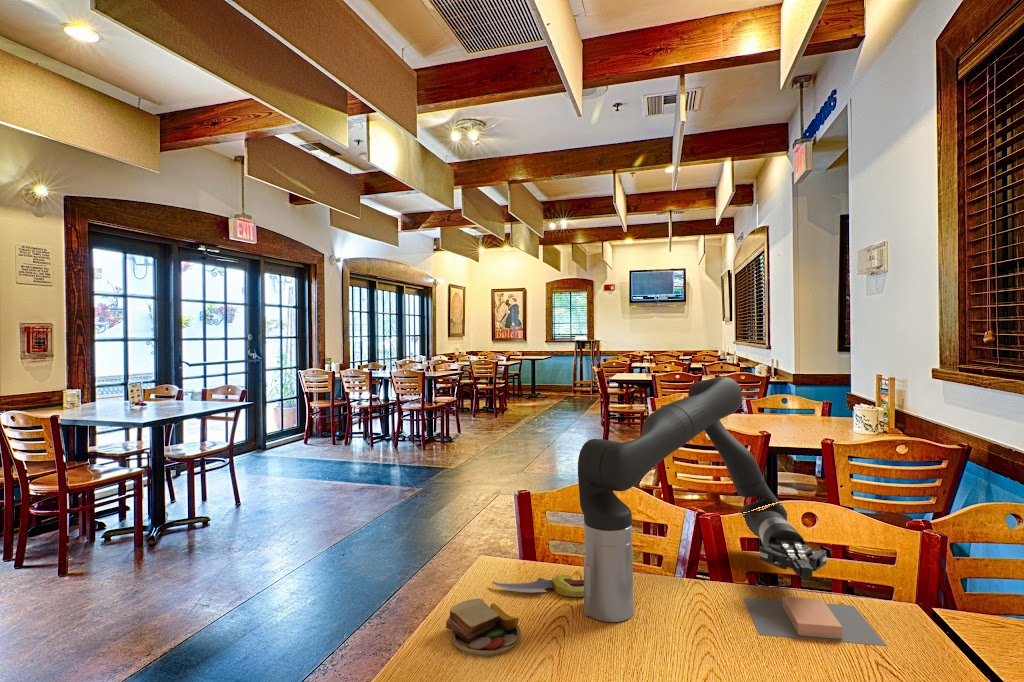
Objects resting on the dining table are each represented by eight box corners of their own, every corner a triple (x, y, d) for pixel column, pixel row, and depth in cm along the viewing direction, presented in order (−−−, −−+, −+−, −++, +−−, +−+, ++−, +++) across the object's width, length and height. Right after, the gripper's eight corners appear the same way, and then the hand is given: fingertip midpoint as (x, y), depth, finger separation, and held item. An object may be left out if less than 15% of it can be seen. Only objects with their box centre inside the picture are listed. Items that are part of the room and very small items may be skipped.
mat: (759, 640, 97) (759, 634, 97) (743, 602, 110) (743, 597, 110) (887, 651, 92) (887, 645, 92) (854, 610, 106) (853, 605, 106)
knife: (489, 600, 114) (611, 600, 113) (489, 587, 114) (611, 587, 113) (492, 583, 122) (606, 583, 121) (492, 571, 122) (606, 571, 121)
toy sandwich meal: (473, 669, 90) (472, 640, 90) (436, 633, 101) (435, 607, 101) (535, 644, 97) (534, 617, 97) (494, 613, 108) (493, 589, 108)
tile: (782, 608, 106) (798, 635, 96) (782, 596, 106) (798, 623, 96) (822, 611, 104) (842, 639, 94) (822, 599, 104) (842, 626, 94)
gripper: (748, 520, 121) (767, 551, 104) (814, 524, 118) (845, 555, 101) (748, 555, 121) (768, 591, 104) (814, 559, 118) (846, 596, 101)
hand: (806, 573), depth 102 cm, fingers closed
